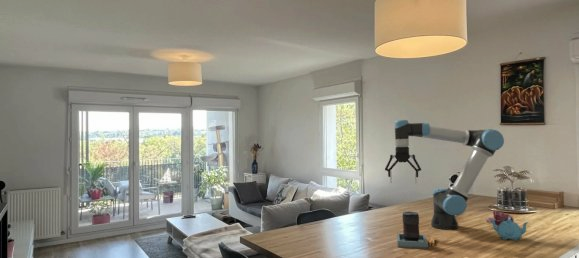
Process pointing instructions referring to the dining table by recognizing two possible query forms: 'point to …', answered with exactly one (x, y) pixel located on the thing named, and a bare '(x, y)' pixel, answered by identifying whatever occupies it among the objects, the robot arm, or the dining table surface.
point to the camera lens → (411, 226)
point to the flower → (499, 217)
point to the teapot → (509, 229)
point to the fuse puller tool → (432, 241)
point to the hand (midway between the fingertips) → (403, 182)
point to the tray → (412, 242)
